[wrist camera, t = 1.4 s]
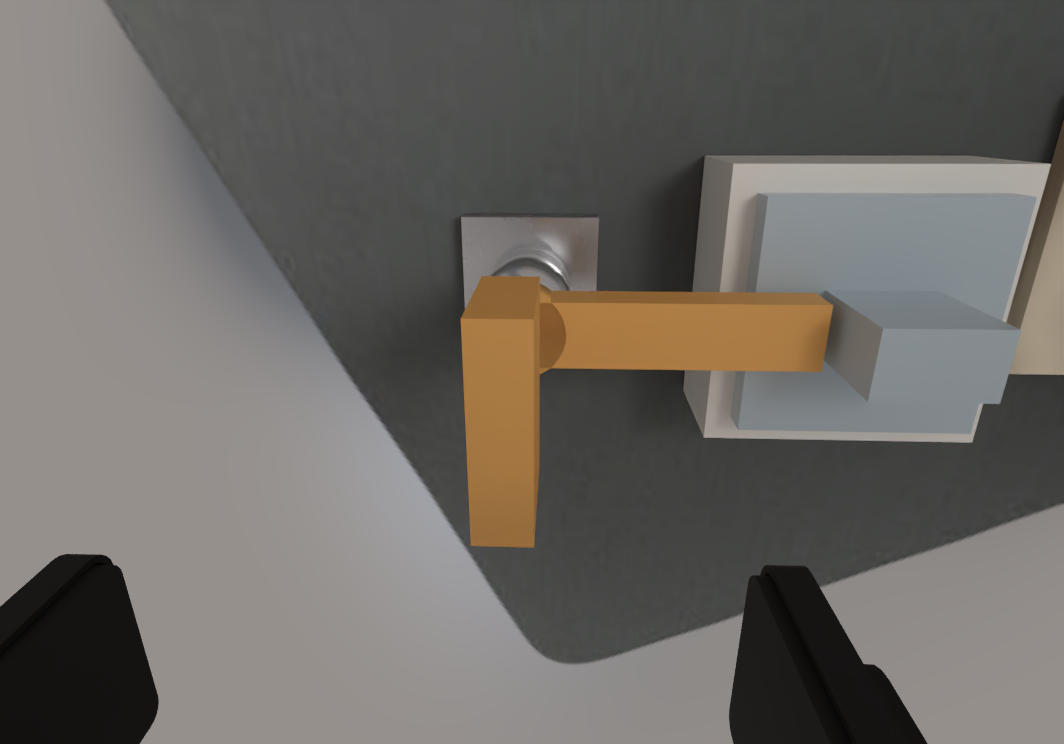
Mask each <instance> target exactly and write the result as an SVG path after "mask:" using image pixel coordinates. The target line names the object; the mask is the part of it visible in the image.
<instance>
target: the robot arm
mask: <svg viewBox="0 0 1064 744" xmlns="http://www.w3.org/2000/svg"><path fill="white" fill-rule="evenodd" d="M157 710H158V695H157V691H156V688H155V684H154V681H153V677H152V674H151V670H150V667H149V663H148V660H147V656H146V653H145V650H144V646H143V643H142V639H141V636H140V632H139V629H138V625H137V622H136V618H135V615H134V611H133V608H132V605H131V601H130V598H129V594H128V591H127V587H126V584H125V580H124V577H123V574H122V571H121V569H120V568H119V567H118V566H115V565H113V563H112V561H111V559H109V558H108V557H107V556H104V555H85V554H83V555H82V554H65V555H61V556H59V557H57V558H55V559H54V560H53V561H51V562H50V563H49V564H48V565H47V566H46V567H45V568H44V569H42V570H41V571H40V572H39V573H38V574H37V575H36V576H34V577H33V578H32V579H31V580H30V581H29V582H28V583H27V584H25V585H24V586H23V587H22V588H21V589H20V590H19V591H17V592H16V593H15V594H14V595H13V596H12V597H11V598H10V599H8V600H7V601H6V602H5V603H4V604H3V605H2V606H1V607H0V744H140V742H141V741H142V739H143V738H144V736H145V734H146V733H147V732H148V730H149V729H150V727H151V725H152V723H153V722H154V720H155V717H156V714H157ZM729 721H730V730H731V735H732V739H733V743H734V744H927V742H926V741H925V739H924V737H923V736H922V734H921V732H920V731H919V729H918V727H917V726H916V724H915V722H914V721H913V719H912V717H911V716H910V714H909V712H908V711H907V709H906V707H905V706H904V704H903V702H902V701H901V699H900V697H899V696H898V694H897V693H896V691H895V689H894V687H893V686H892V684H891V683H890V681H889V679H888V678H887V677H886V675H885V674H884V673H883V672H882V670H881V669H879V668H878V667H876V666H875V665H867V664H863V662H862V661H861V659H860V657H859V655H858V654H857V652H856V650H855V648H854V647H853V645H852V643H851V641H850V640H849V638H848V636H847V634H846V633H845V631H844V629H843V627H842V626H841V624H840V622H839V620H838V619H837V617H836V615H835V613H834V612H833V610H832V609H831V607H830V605H829V603H828V601H827V600H826V598H825V596H824V594H823V593H822V591H821V589H820V587H819V586H818V584H817V582H816V580H815V579H814V577H813V575H812V573H811V572H810V571H809V569H808V568H807V567H805V566H777V565H766V566H764V567H763V569H762V571H761V575H760V576H757V575H753V576H751V577H750V579H749V583H748V589H747V595H746V602H745V609H744V615H743V623H742V629H741V635H740V643H739V649H738V656H737V663H736V669H735V676H734V682H733V689H732V696H731V703H730V711H729Z"/></svg>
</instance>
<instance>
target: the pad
mask: <svg viewBox="0 0 1064 744" xmlns="http://www.w3.org/2000/svg"><path fill="white" fill-rule="evenodd" d="M1006 323H1008V324H1010V325H1012V326H1014V327H1016V328H1018V329H1020V330H1022V331H1021V334H1020V337H1019V341H1018V344H1017V348H1016V351H1015V354H1014V358H1013V361H1012V365H1011V368H1010V371H1009V374H1042V375H1064V120H1063V123H1062V127H1061V130H1060V134H1059V137H1058V141H1057V144H1056V148H1055V151H1054V155H1053V158H1052V162H1051V166H1050V170H1049V173H1048V177H1047V181H1046V184H1045V188H1044V191H1043V195H1042V198H1041V202H1040V205H1039V209H1038V212H1037V216H1036V219H1035V223H1034V226H1033V230H1032V233H1031V237H1030V240H1029V244H1028V247H1027V251H1026V255H1025V258H1024V262H1023V265H1022V269H1021V272H1020V276H1019V279H1018V283H1017V286H1016V290H1015V293H1014V297H1013V300H1012V304H1011V307H1010V311H1009V314H1008V318H1007V321H1006Z"/></svg>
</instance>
